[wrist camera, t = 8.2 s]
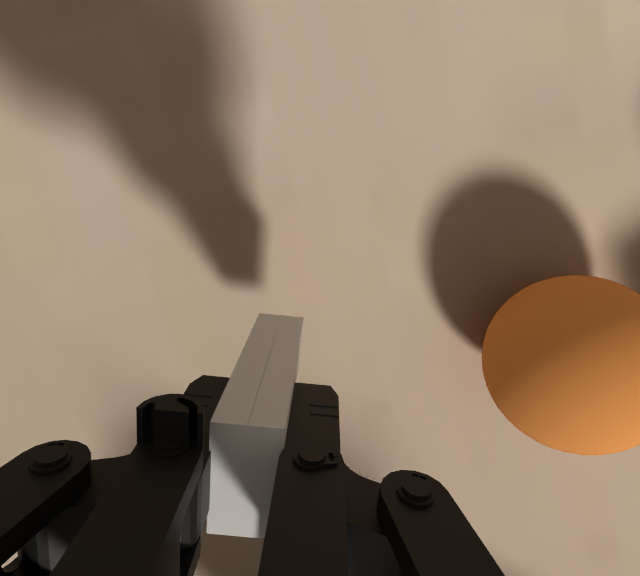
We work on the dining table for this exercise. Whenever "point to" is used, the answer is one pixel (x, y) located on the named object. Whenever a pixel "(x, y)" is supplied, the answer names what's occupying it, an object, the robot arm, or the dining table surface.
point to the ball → (568, 364)
